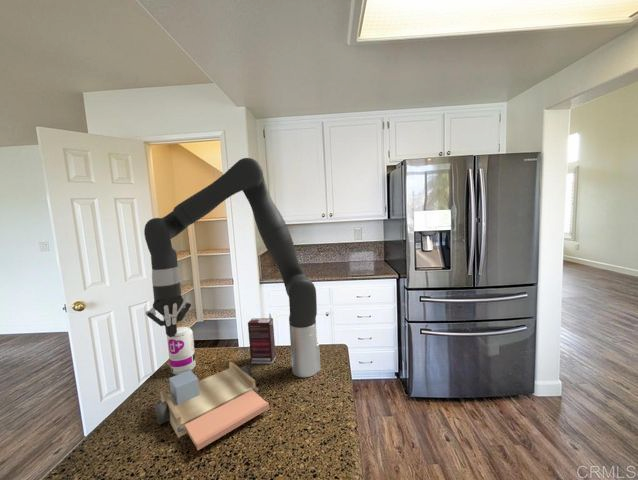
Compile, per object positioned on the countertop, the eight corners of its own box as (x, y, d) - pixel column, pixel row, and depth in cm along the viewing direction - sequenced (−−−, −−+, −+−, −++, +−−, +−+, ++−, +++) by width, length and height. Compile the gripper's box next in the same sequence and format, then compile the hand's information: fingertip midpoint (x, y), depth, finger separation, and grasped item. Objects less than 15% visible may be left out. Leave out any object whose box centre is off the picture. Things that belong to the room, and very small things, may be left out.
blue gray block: (191, 385, 86) (190, 369, 85) (199, 394, 80) (198, 378, 80) (170, 394, 82) (169, 378, 81) (177, 405, 76) (176, 388, 76)
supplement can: (186, 376, 96) (182, 335, 95) (165, 374, 98) (161, 334, 97) (200, 364, 104) (196, 325, 103) (181, 362, 106) (177, 325, 105)
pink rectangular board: (252, 389, 82) (268, 403, 75) (252, 393, 82) (269, 408, 75) (184, 424, 69) (197, 444, 62) (185, 429, 69) (197, 450, 62)
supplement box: (276, 357, 106) (273, 317, 105) (272, 364, 101) (269, 322, 100) (254, 357, 107) (252, 317, 106) (250, 363, 103) (247, 322, 101)
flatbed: (239, 372, 97) (238, 358, 97) (265, 394, 84) (264, 378, 84) (152, 411, 79) (150, 395, 78) (168, 446, 66) (166, 427, 65)
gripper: (185, 276, 92) (189, 326, 94) (139, 284, 83) (144, 339, 85) (192, 279, 87) (197, 332, 88) (144, 288, 78) (150, 347, 79)
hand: (171, 336), depth 86 cm, fingers closed
